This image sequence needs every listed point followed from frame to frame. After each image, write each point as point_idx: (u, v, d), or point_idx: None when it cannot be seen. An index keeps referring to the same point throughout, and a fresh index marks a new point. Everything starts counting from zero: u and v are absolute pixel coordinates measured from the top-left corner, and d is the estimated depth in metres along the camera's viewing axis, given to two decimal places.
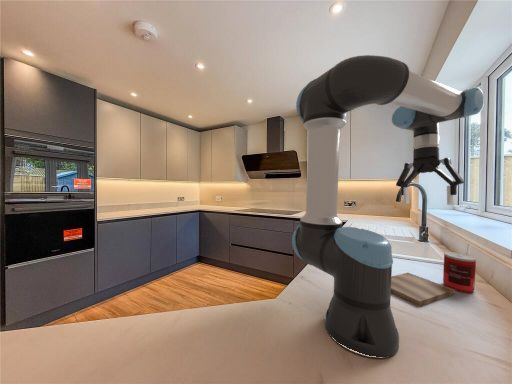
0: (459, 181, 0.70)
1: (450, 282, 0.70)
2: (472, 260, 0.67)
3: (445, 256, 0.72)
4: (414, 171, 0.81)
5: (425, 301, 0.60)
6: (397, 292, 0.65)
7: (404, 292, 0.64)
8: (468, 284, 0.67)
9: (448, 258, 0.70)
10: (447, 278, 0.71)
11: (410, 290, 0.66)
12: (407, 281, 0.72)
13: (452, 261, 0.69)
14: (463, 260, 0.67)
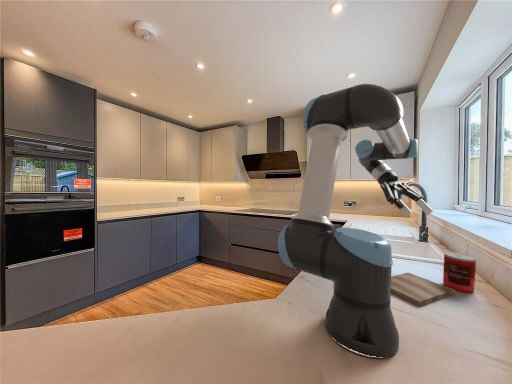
0: (422, 196, 0.90)
1: (450, 282, 0.70)
2: (472, 260, 0.67)
3: (445, 256, 0.72)
4: (396, 187, 0.87)
5: (425, 301, 0.60)
6: (397, 292, 0.65)
7: (404, 292, 0.64)
8: (468, 284, 0.67)
9: (448, 258, 0.70)
10: (447, 278, 0.71)
11: (410, 290, 0.66)
12: (407, 281, 0.72)
13: (452, 261, 0.69)
14: (463, 260, 0.67)
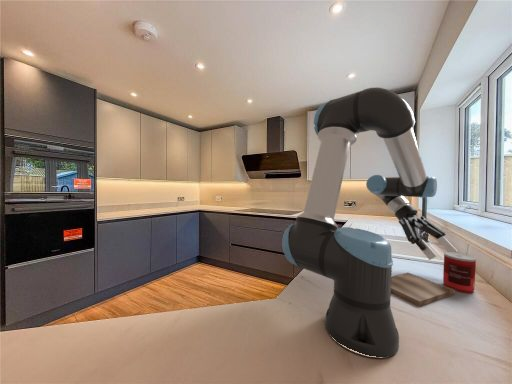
0: (443, 232, 0.83)
1: (450, 282, 0.70)
2: (472, 260, 0.67)
3: (445, 256, 0.72)
4: (416, 224, 0.81)
5: (425, 301, 0.60)
6: (397, 292, 0.65)
7: (404, 292, 0.64)
8: (468, 284, 0.67)
9: (448, 258, 0.70)
10: (447, 278, 0.71)
11: (410, 290, 0.66)
12: (407, 281, 0.72)
13: (452, 261, 0.69)
14: (463, 260, 0.67)
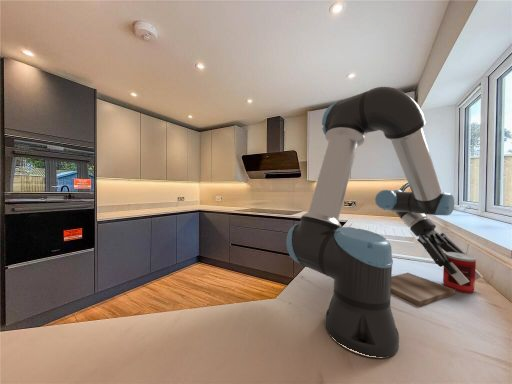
0: None
1: (450, 282, 0.70)
2: (472, 260, 0.67)
3: None
4: (437, 242, 0.74)
5: (425, 301, 0.60)
6: (397, 292, 0.65)
7: (404, 292, 0.64)
8: (468, 284, 0.67)
9: (448, 258, 0.70)
10: (447, 278, 0.71)
11: (410, 290, 0.66)
12: (407, 281, 0.72)
13: (452, 261, 0.69)
14: (463, 260, 0.67)
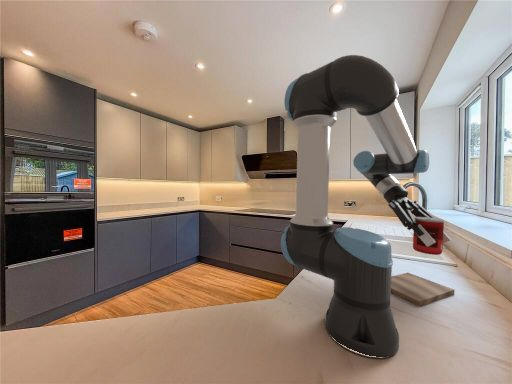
0: None
1: (418, 245, 0.69)
2: (439, 221, 0.66)
3: None
4: (408, 206, 0.73)
5: (425, 301, 0.60)
6: (397, 292, 0.65)
7: (404, 292, 0.64)
8: (436, 245, 0.66)
9: (417, 220, 0.69)
10: (416, 241, 0.70)
11: (410, 290, 0.66)
12: (407, 281, 0.72)
13: (420, 224, 0.68)
14: (430, 221, 0.66)
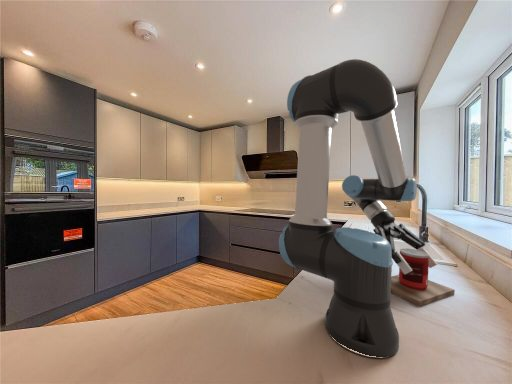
0: (423, 242, 0.75)
1: (403, 279, 0.68)
2: (424, 256, 0.65)
3: (400, 253, 0.70)
4: (392, 233, 0.72)
5: (425, 301, 0.60)
6: (397, 292, 0.65)
7: (404, 292, 0.64)
8: (421, 281, 0.65)
9: (402, 254, 0.69)
10: (401, 275, 0.69)
11: (410, 290, 0.66)
12: None
13: (405, 258, 0.68)
14: (415, 256, 0.66)
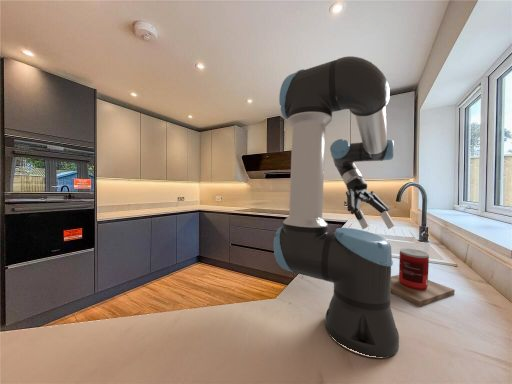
0: (388, 208, 0.85)
1: (403, 279, 0.68)
2: (424, 256, 0.65)
3: (400, 253, 0.70)
4: (361, 196, 0.82)
5: (425, 301, 0.60)
6: (397, 292, 0.65)
7: (404, 292, 0.64)
8: (421, 281, 0.65)
9: (402, 254, 0.69)
10: (401, 275, 0.69)
11: (410, 290, 0.66)
12: None
13: (405, 258, 0.68)
14: (415, 256, 0.66)
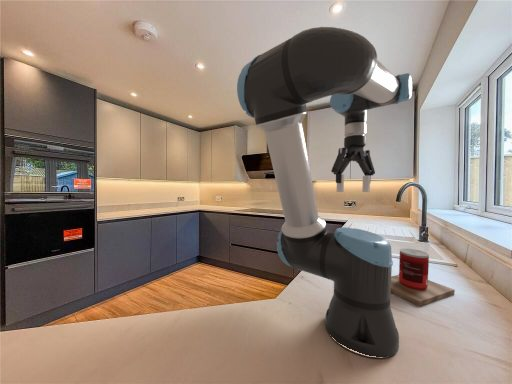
0: (374, 172, 0.83)
1: (403, 279, 0.68)
2: (424, 256, 0.65)
3: (400, 253, 0.70)
4: (351, 158, 0.77)
5: (425, 301, 0.60)
6: (397, 292, 0.65)
7: (404, 292, 0.64)
8: (421, 281, 0.65)
9: (402, 254, 0.69)
10: (401, 275, 0.69)
11: (410, 290, 0.66)
12: None
13: (405, 258, 0.68)
14: (415, 256, 0.66)
